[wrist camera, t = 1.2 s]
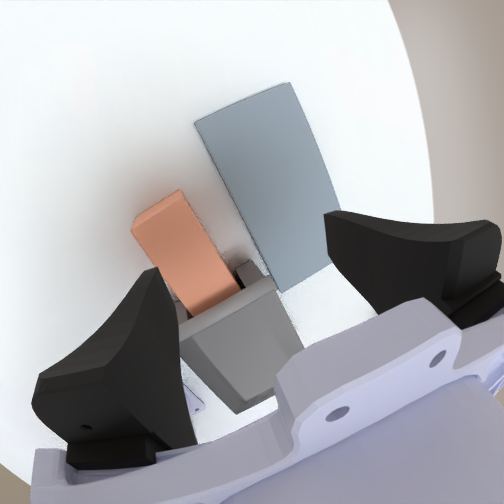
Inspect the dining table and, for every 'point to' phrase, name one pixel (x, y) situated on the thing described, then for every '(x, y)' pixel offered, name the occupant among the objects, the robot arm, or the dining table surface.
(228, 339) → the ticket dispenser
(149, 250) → the bar
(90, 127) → the dining table surface
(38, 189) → the dining table surface
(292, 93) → the slate mat
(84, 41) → the dining table surface
